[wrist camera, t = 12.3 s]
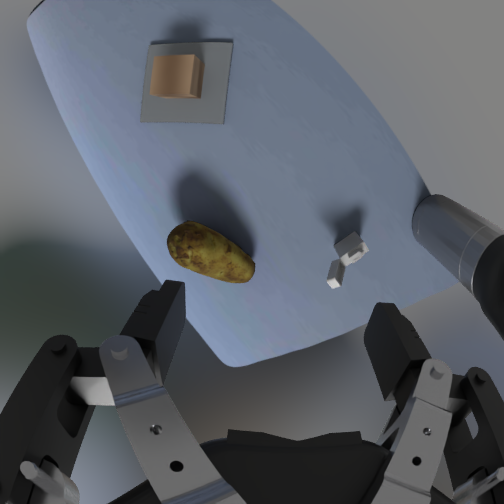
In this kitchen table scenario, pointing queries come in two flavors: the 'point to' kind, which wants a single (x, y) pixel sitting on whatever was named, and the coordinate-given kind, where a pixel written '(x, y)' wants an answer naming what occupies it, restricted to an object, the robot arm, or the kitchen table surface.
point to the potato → (209, 253)
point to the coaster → (212, 88)
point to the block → (177, 76)
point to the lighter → (345, 257)
